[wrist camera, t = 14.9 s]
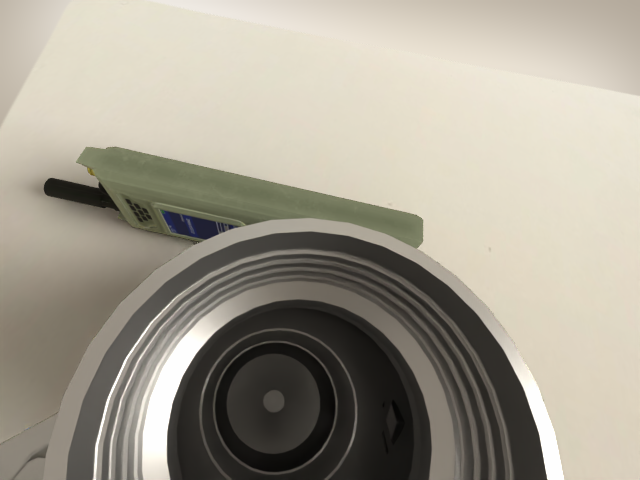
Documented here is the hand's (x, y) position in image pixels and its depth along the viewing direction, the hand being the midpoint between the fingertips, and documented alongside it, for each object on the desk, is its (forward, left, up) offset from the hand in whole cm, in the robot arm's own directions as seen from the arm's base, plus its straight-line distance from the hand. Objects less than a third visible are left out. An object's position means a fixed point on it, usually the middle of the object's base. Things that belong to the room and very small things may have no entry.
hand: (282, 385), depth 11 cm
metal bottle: (-1, 0, -12) cm, 12 cm away
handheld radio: (+11, +4, -14) cm, 18 cm away
